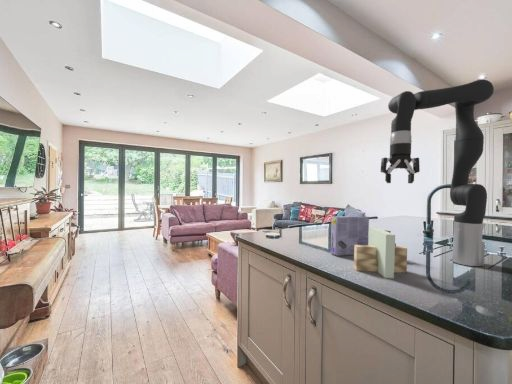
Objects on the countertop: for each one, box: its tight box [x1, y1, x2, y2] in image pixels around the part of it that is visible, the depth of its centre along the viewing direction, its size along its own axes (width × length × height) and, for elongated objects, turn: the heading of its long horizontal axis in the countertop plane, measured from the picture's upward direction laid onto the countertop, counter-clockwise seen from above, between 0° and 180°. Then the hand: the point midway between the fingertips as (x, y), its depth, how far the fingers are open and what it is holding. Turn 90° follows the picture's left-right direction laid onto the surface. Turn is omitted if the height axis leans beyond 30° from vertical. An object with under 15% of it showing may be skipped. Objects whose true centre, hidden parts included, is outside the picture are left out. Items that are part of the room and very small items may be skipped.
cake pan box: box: [330, 215, 370, 257], centre depth 118 cm, size 19×5×18 cm, turn 108°
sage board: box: [368, 226, 396, 279], centre depth 95 cm, size 3×16×15 cm, turn 176°
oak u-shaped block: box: [353, 245, 408, 274], centre depth 95 cm, size 18×3×9 cm, turn 86°
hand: (399, 183), depth 103 cm, fingers open, 8 cm apart
